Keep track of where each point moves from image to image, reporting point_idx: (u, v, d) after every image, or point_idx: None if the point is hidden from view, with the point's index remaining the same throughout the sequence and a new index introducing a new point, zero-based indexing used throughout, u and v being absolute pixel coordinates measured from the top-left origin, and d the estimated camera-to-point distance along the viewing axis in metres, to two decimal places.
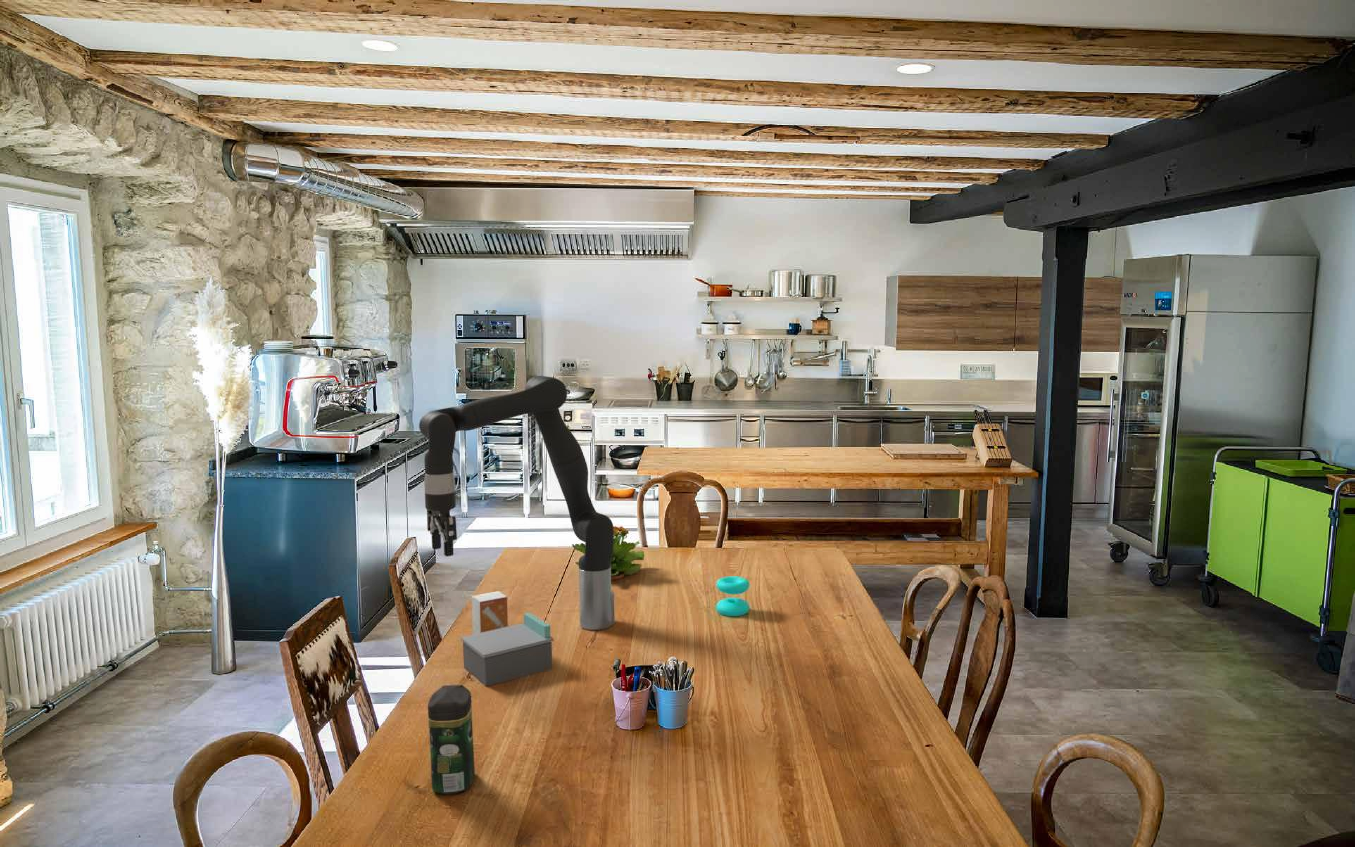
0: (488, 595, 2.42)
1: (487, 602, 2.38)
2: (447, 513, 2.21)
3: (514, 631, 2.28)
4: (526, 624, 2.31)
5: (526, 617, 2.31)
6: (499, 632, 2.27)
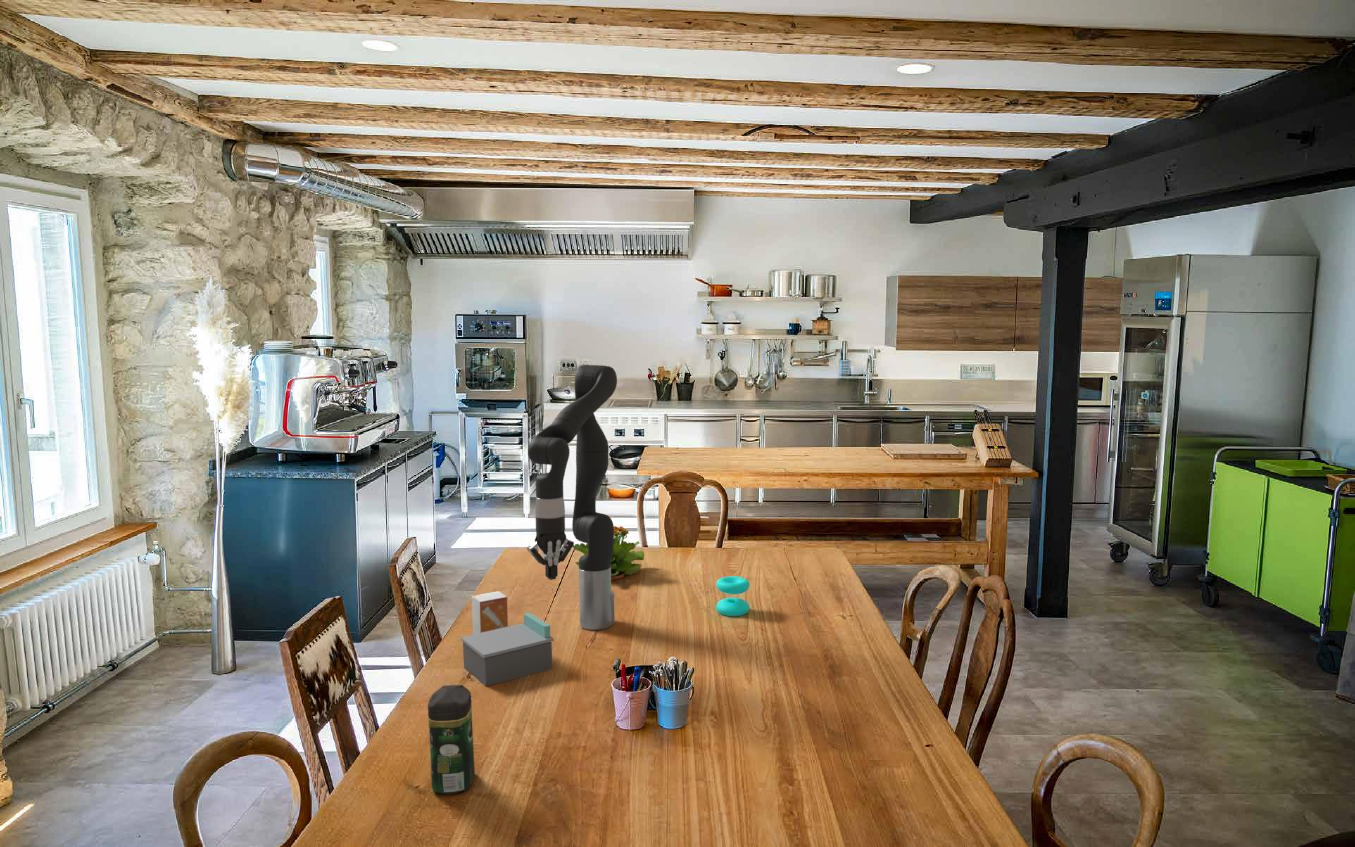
0: (488, 595, 2.41)
1: (487, 602, 2.38)
2: None
3: (514, 631, 2.28)
4: (526, 624, 2.31)
5: (526, 617, 2.31)
6: (499, 632, 2.27)
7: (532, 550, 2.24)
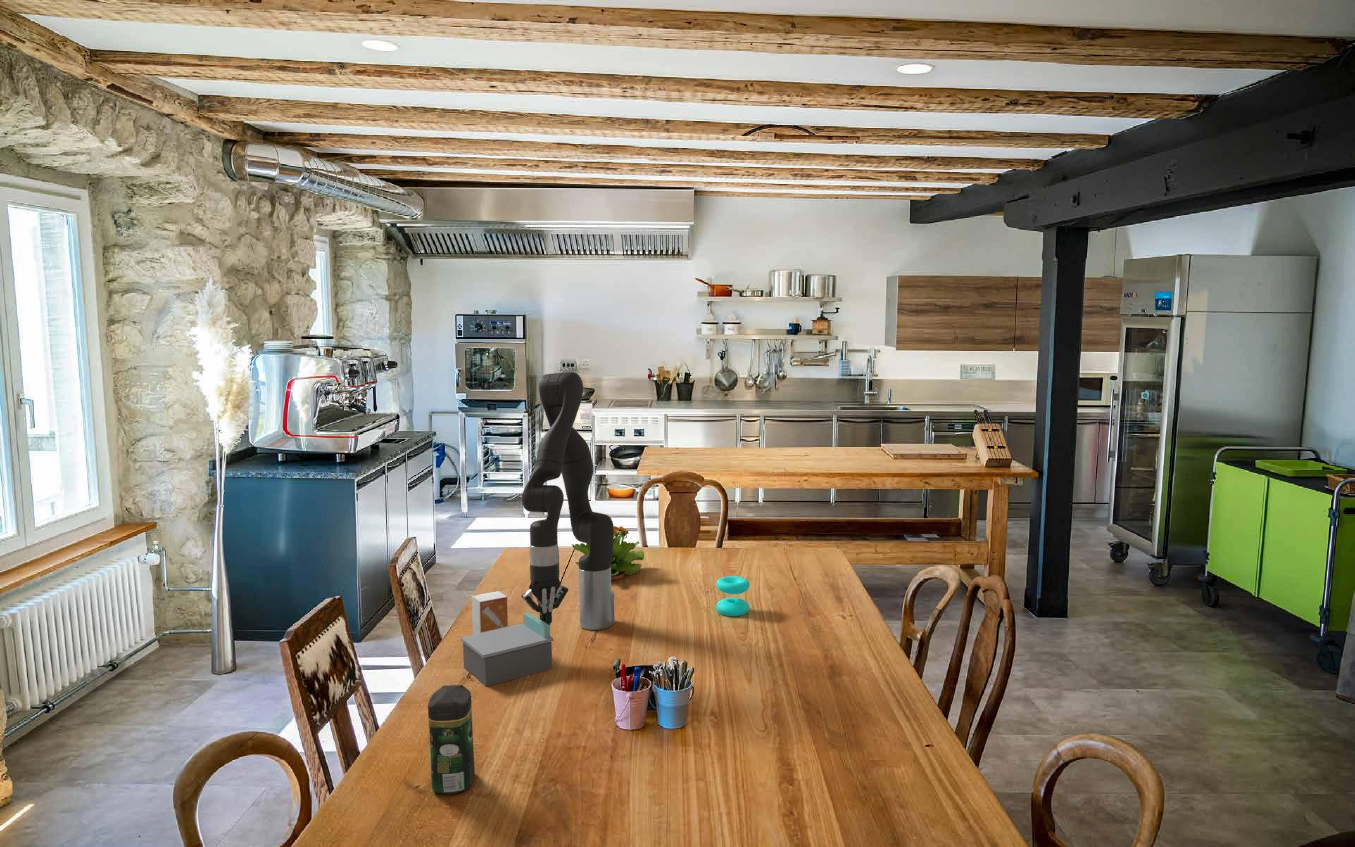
0: (488, 595, 2.41)
1: (487, 602, 2.38)
2: None
3: (514, 631, 2.28)
4: (526, 624, 2.31)
5: (526, 617, 2.31)
6: (499, 632, 2.27)
7: (526, 598, 2.24)
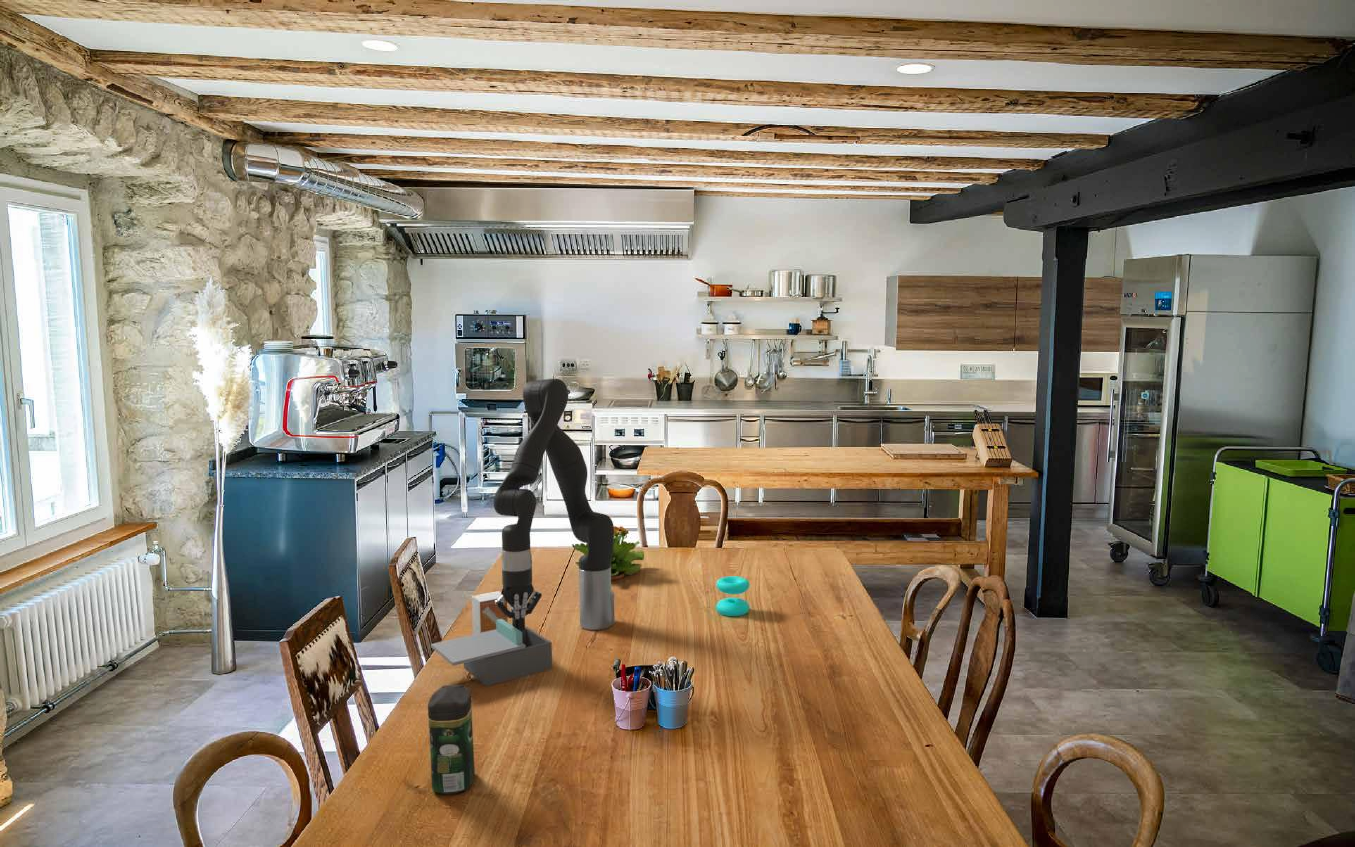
0: (488, 595, 2.41)
1: (487, 602, 2.38)
2: None
3: (486, 638, 2.23)
4: (498, 630, 2.27)
5: (498, 623, 2.27)
6: (470, 639, 2.23)
7: (498, 604, 2.20)
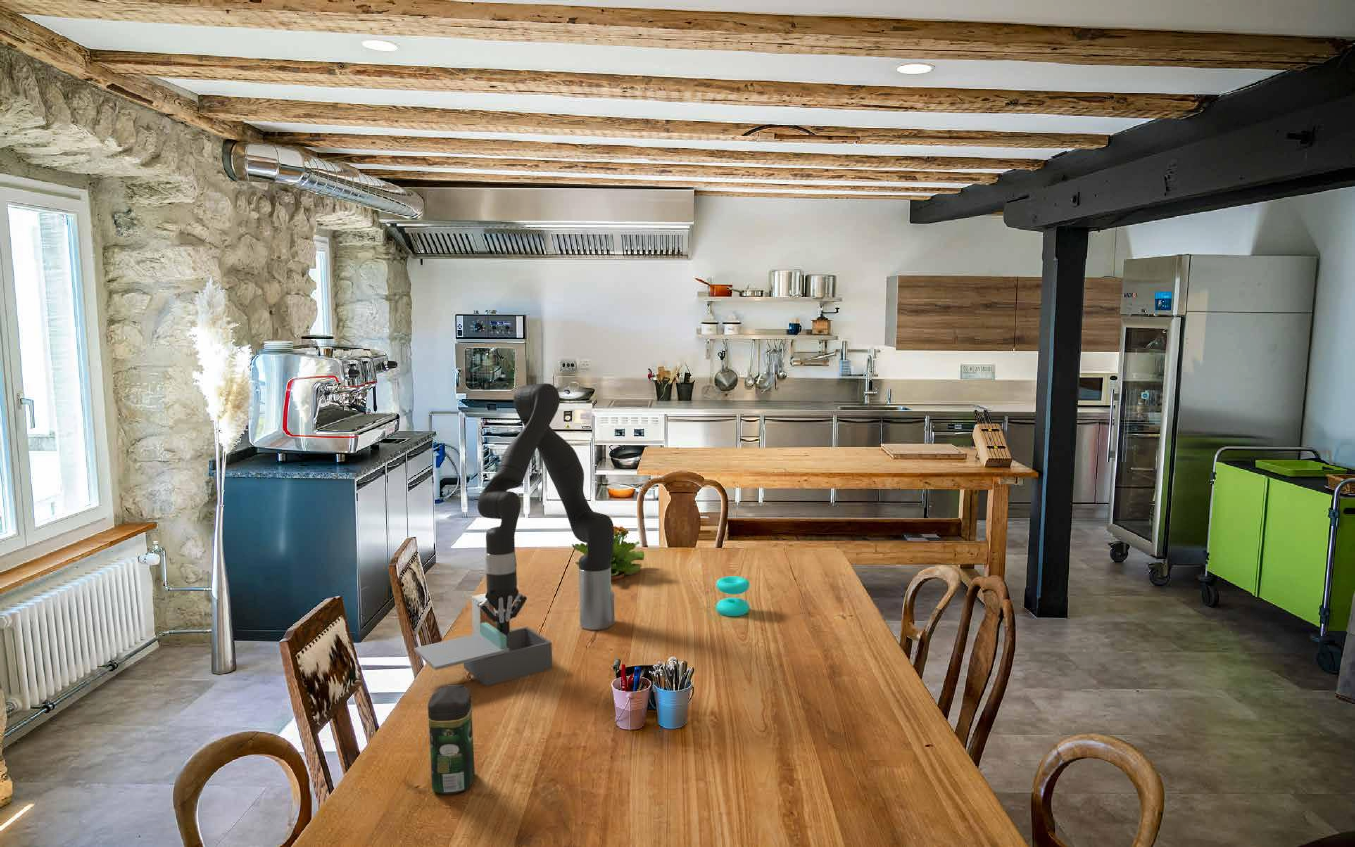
0: None
1: None
2: None
3: (470, 641, 2.21)
4: (483, 634, 2.24)
5: (483, 626, 2.24)
6: (454, 642, 2.20)
7: (482, 607, 2.17)
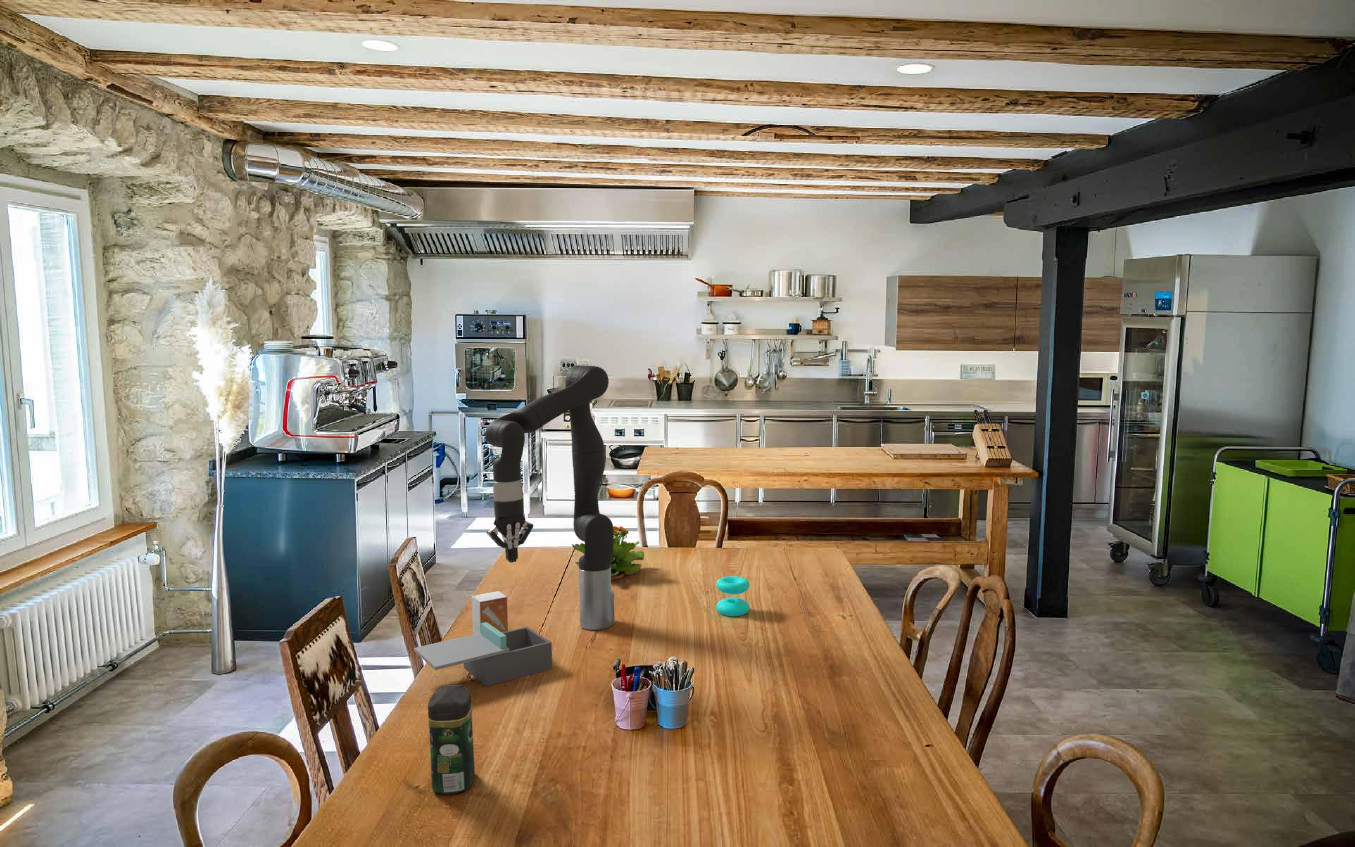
0: (488, 595, 2.41)
1: (487, 602, 2.38)
2: None
3: (470, 641, 2.21)
4: (483, 634, 2.24)
5: (483, 626, 2.24)
6: (454, 642, 2.20)
7: (491, 533, 2.25)
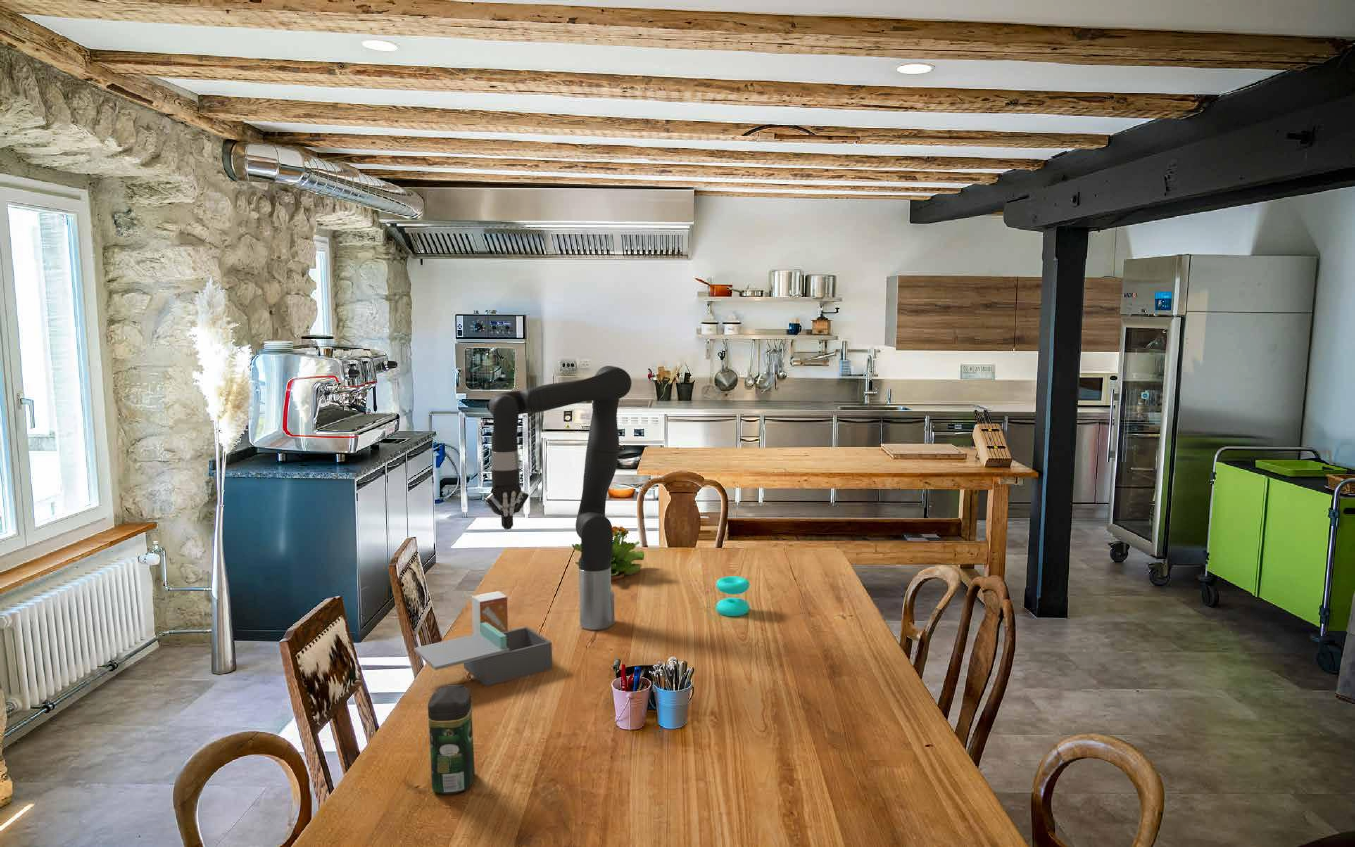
0: (488, 595, 2.41)
1: (487, 602, 2.38)
2: None
3: (470, 641, 2.21)
4: (483, 634, 2.24)
5: (483, 626, 2.24)
6: (454, 642, 2.20)
7: (488, 500, 2.37)
